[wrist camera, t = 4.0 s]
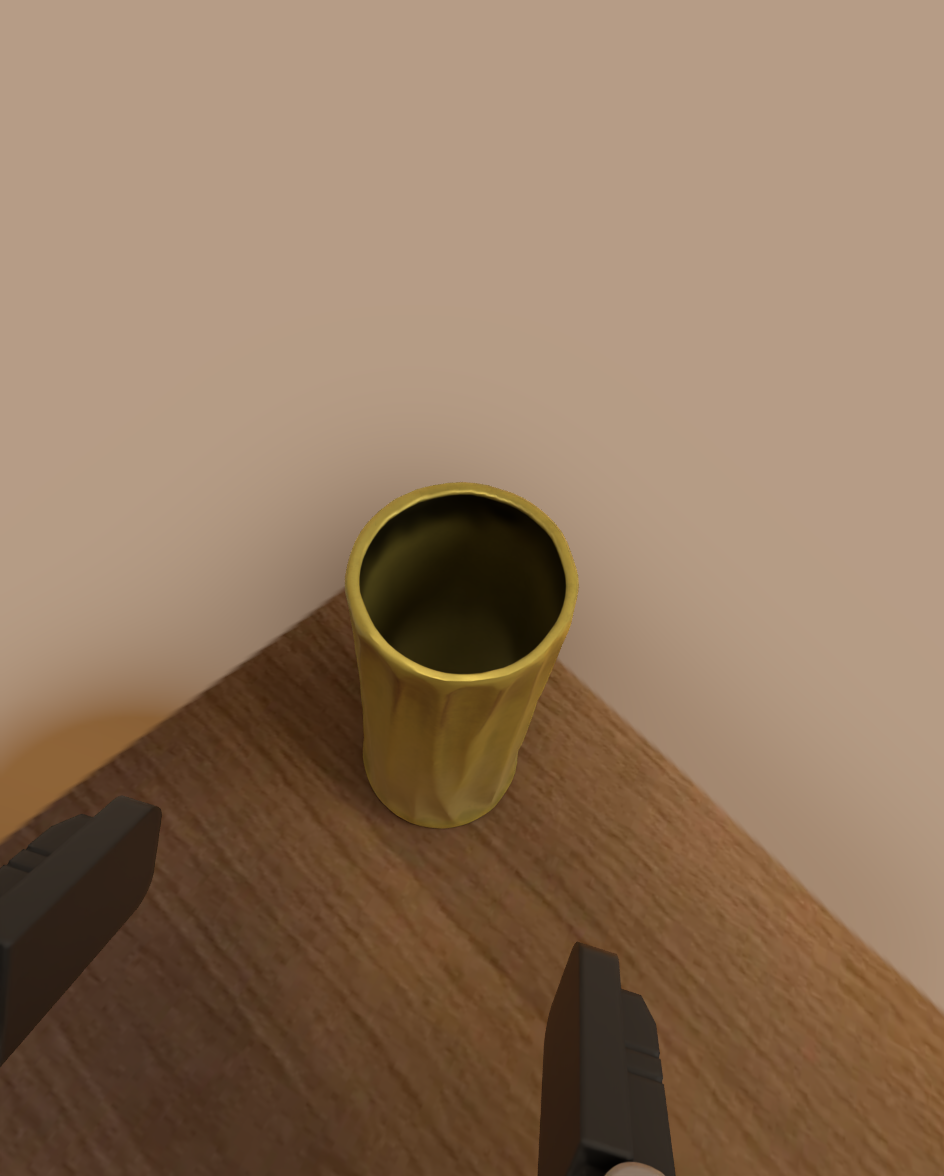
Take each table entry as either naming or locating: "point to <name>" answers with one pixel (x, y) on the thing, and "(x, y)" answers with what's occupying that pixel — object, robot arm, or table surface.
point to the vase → (454, 643)
